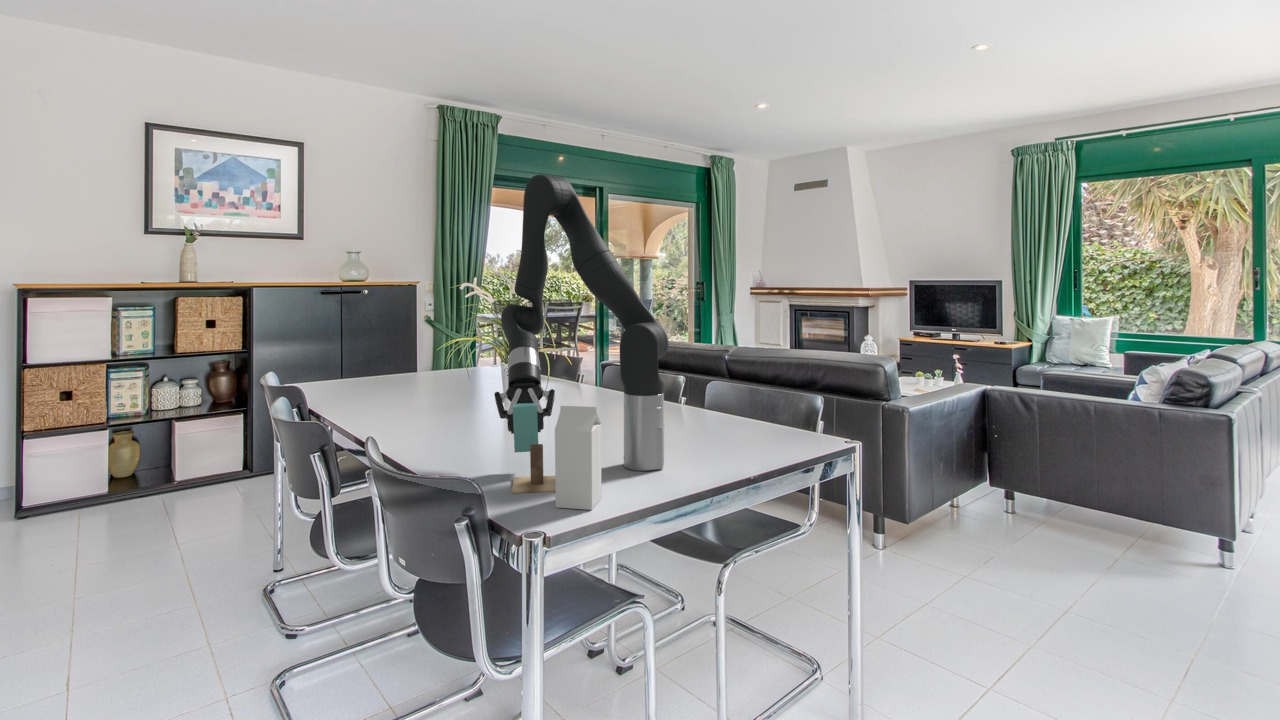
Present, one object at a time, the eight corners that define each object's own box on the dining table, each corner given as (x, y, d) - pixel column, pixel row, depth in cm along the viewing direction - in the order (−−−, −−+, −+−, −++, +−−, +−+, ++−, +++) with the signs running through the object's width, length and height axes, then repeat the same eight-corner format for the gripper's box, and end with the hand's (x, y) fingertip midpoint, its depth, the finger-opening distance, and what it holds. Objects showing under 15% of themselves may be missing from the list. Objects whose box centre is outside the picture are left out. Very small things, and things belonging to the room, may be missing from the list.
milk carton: (591, 510, 124) (591, 410, 122) (555, 508, 126) (554, 408, 124) (601, 499, 131) (601, 403, 129) (567, 496, 133) (566, 402, 130)
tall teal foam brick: (538, 445, 152) (536, 402, 151) (538, 451, 147) (536, 406, 146) (515, 447, 151) (513, 403, 150) (514, 452, 146) (512, 407, 145)
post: (559, 477, 146) (559, 439, 145) (562, 490, 136) (561, 450, 135) (513, 479, 144) (512, 441, 143) (512, 493, 134) (511, 452, 134)
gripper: (491, 362, 153) (491, 423, 143) (554, 359, 155) (558, 419, 145) (494, 381, 159) (493, 442, 148) (554, 379, 161) (558, 438, 151)
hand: (526, 430), depth 147 cm, fingers closed on tall teal foam brick, 5 cm apart
